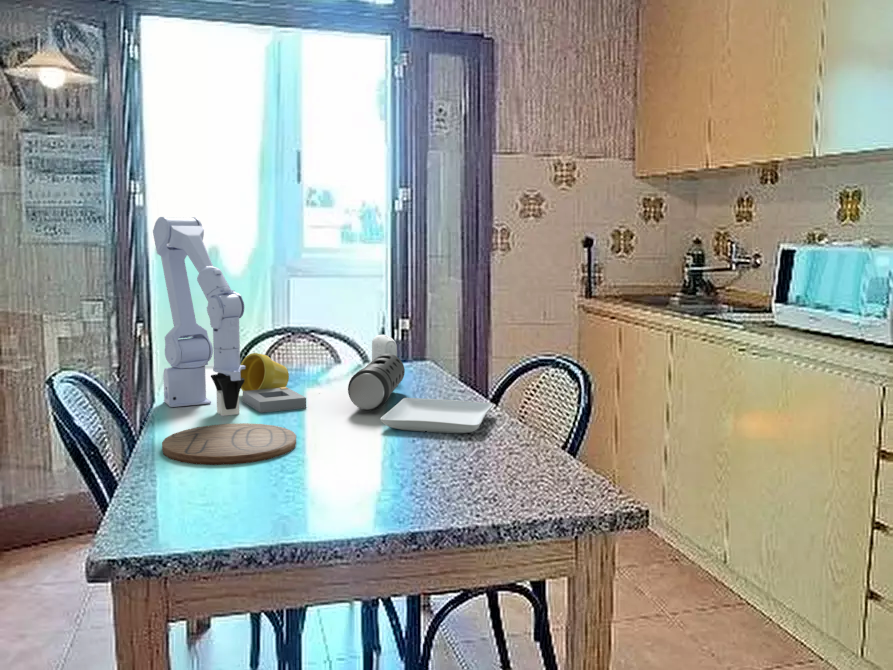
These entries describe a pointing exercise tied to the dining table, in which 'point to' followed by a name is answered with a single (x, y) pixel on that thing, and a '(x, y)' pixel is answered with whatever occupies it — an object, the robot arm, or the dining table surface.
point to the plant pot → (262, 373)
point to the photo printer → (383, 346)
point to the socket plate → (274, 399)
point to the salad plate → (436, 415)
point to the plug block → (221, 406)
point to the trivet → (229, 444)
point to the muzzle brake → (376, 382)
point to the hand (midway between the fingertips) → (228, 407)
